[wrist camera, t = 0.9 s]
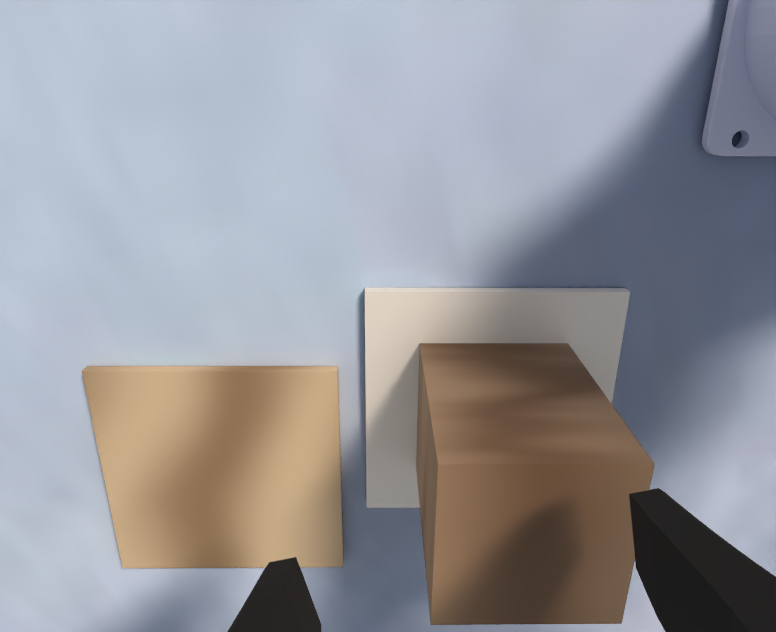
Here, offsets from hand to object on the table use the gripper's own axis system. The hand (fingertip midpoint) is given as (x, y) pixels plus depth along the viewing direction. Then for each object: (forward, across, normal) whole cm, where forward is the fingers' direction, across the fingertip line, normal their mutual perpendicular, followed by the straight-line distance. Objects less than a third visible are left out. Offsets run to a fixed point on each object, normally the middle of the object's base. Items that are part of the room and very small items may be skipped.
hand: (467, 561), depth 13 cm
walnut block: (+9, -2, +2) cm, 9 cm away
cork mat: (+9, +9, +3) cm, 13 cm away
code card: (+10, -2, +2) cm, 10 cm away
